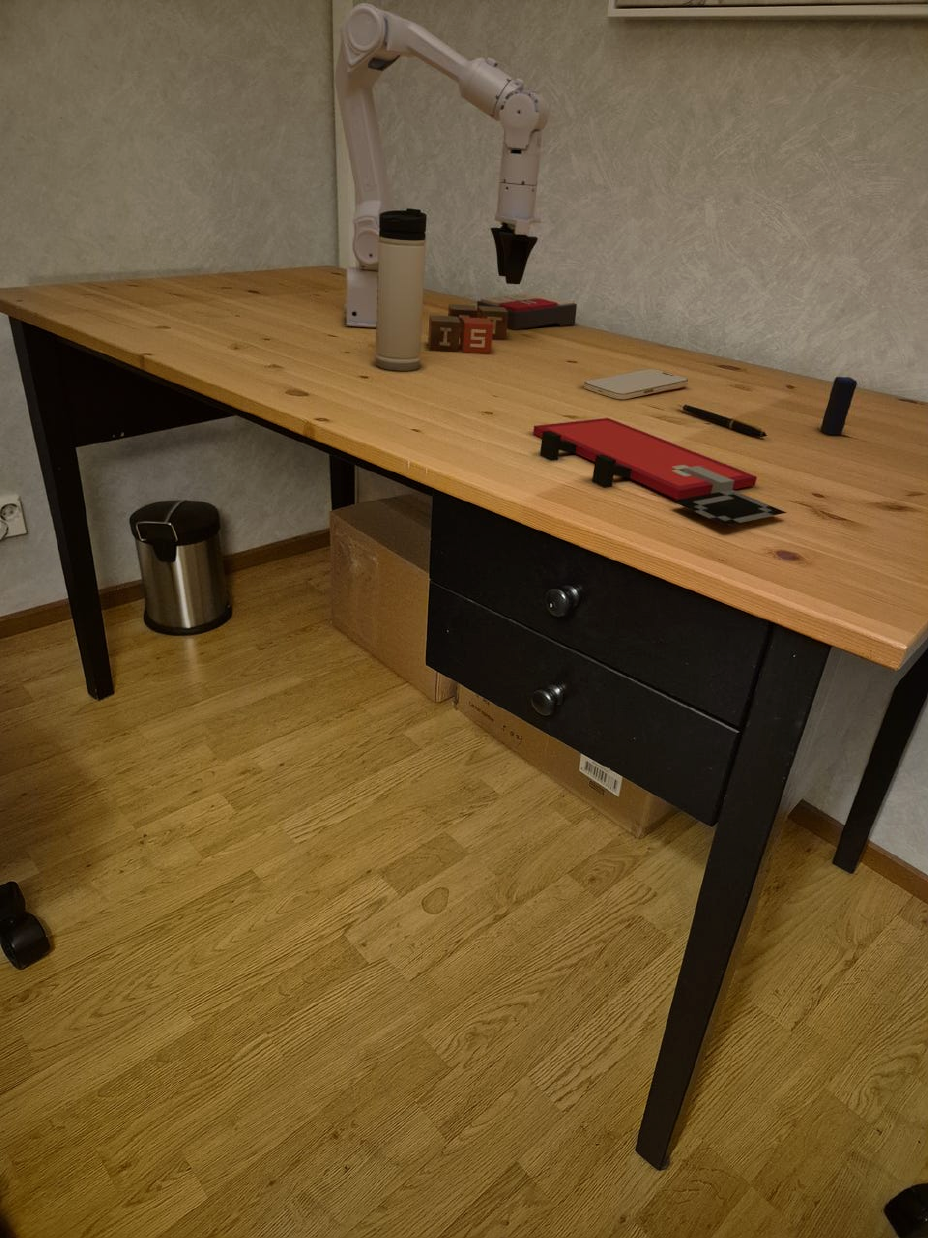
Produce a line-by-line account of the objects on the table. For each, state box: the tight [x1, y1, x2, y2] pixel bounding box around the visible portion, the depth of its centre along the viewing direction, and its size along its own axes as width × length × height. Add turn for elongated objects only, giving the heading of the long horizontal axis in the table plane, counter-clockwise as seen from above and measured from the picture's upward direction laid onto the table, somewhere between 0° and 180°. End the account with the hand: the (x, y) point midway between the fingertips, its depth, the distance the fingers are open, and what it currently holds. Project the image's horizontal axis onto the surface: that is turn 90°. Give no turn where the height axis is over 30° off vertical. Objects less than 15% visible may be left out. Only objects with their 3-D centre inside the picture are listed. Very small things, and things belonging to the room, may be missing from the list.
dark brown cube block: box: [447, 303, 478, 334], centre depth 143 cm, size 4×4×4 cm
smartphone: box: [583, 368, 689, 400], centre depth 120 cm, size 7×1×15 cm
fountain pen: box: [676, 403, 768, 438], centre depth 107 cm, size 14×1×2 cm, turn 37°
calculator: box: [476, 292, 578, 331], centre depth 157 cm, size 11×4×15 cm
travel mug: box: [374, 207, 428, 372], centre depth 117 cm, size 6×7×20 cm
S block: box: [459, 317, 493, 355], centre depth 133 cm, size 4×4×4 cm
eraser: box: [820, 376, 858, 437], centre depth 106 cm, size 2×2×7 cm
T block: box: [478, 306, 508, 341], centre depth 143 cm, size 4×4×4 cm
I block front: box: [427, 314, 461, 353], centre depth 133 cm, size 4×4×4 cm
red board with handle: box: [532, 417, 788, 527], centre depth 89 cm, size 30×3×15 cm
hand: (508, 279), depth 136 cm, fingers open, 7 cm apart
